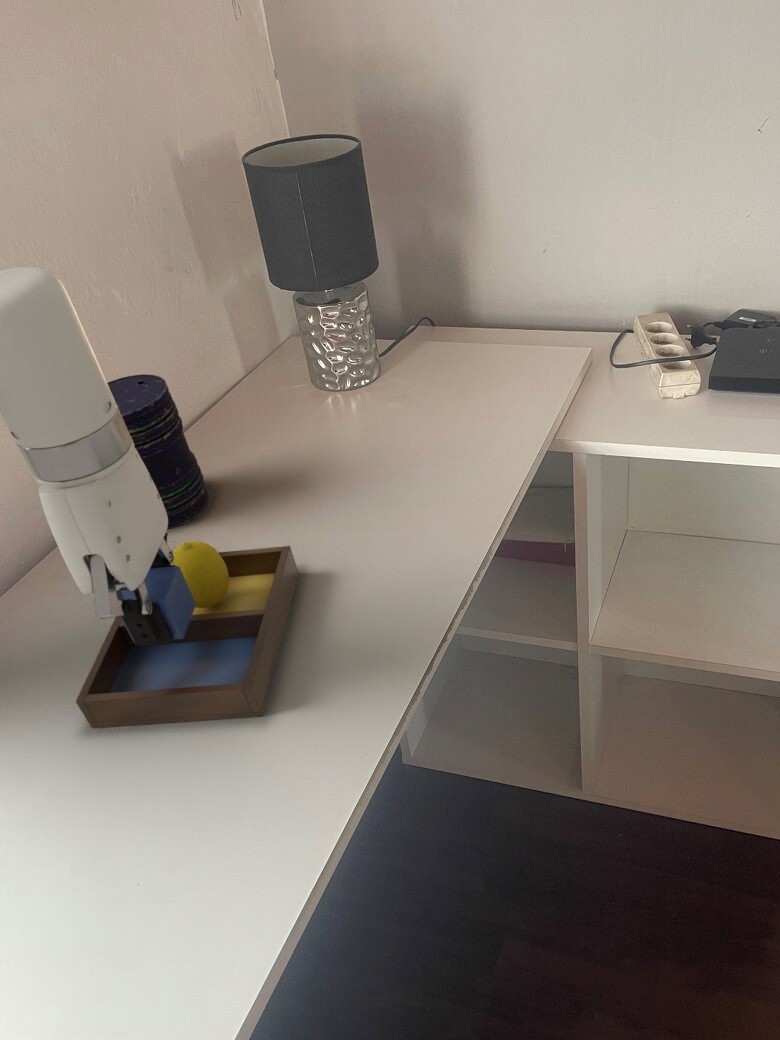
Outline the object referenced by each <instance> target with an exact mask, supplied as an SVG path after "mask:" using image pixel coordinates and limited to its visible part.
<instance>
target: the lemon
mask: <svg viewBox="0 0 780 1040" xmlns="http://www.w3.org/2000/svg"><path fill="white" fill-rule="evenodd" d="M172 552H173V554H174V562H173V563H172V564H170V565H175V566H179V567H180V569H181V572H182V574H183V576H184V578H185V580H186V583H187V585H188V587H189V589H190V592H191V594H192V596H193V598H194V600H195V603H196V606H195V607H196V608H207V607H213V606H214V605H215V604H217V603H218V602H220V601H221V600H222V599H223V597H224V596H225V594H226V592H227V590H228V586H229V575H228V570H227V567H226V564H225V562H224V561H223V559H222V558H221V556H220V555H219V553H218V550H217V549H215V547H213V546H211V545H210V544H208V543H206V542H203V541H197V540H193V541H185V542H183V543H181V544H180V545H179V546H178V547H176V548H175V549H174V550H173V551H172Z"/></svg>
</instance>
